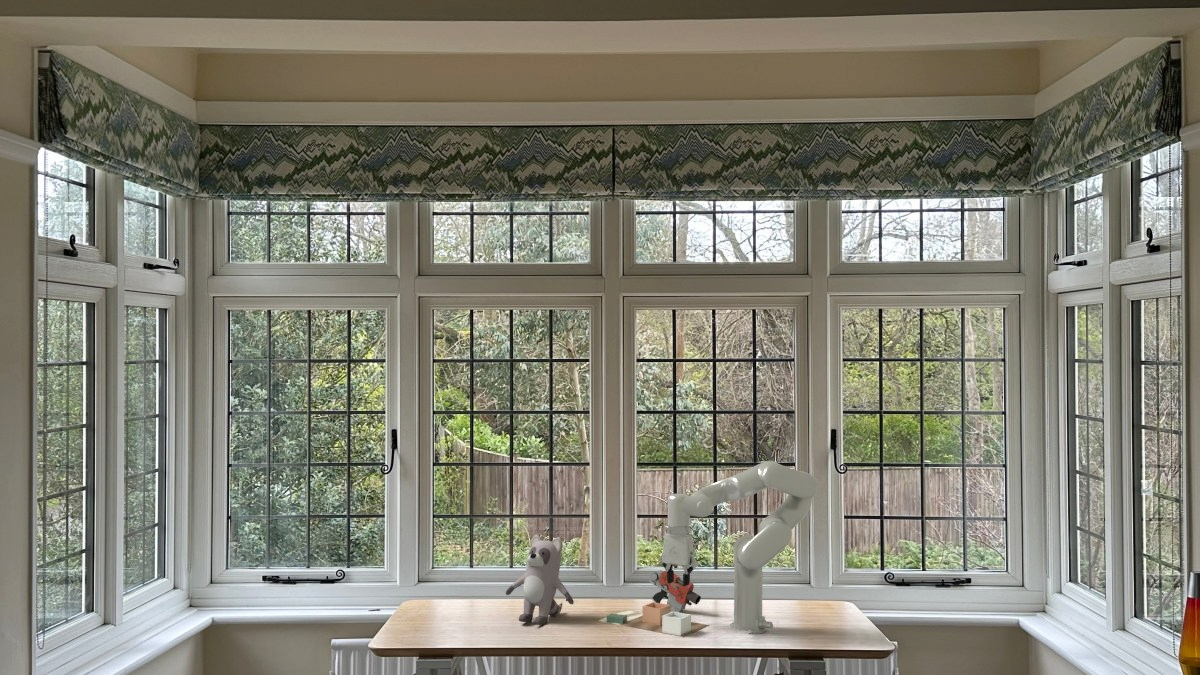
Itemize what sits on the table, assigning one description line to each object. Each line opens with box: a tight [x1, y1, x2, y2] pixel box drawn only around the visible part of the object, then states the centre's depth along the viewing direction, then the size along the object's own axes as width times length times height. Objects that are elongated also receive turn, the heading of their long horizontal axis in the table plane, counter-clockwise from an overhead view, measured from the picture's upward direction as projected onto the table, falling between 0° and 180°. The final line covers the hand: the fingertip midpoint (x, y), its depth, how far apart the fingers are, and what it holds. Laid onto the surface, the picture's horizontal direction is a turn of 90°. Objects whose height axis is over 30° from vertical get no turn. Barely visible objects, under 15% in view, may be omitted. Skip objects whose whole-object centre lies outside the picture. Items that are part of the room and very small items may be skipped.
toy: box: [505, 534, 575, 626], centre depth 330 cm, size 21×21×29 cm
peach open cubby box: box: [641, 601, 670, 625], centre depth 328 cm, size 7×7×6 cm
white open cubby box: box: [661, 612, 692, 637], centre depth 315 cm, size 7×7×6 cm
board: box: [597, 609, 710, 638], centre depth 326 cm, size 34×18×1 cm, turn 56°
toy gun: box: [648, 569, 702, 613], centre depth 342 cm, size 4×20×15 cm, turn 53°
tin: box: [606, 613, 627, 624], centre depth 327 cm, size 6×4×2 cm, turn 66°
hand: (678, 583), depth 323 cm, fingers open, 5 cm apart
